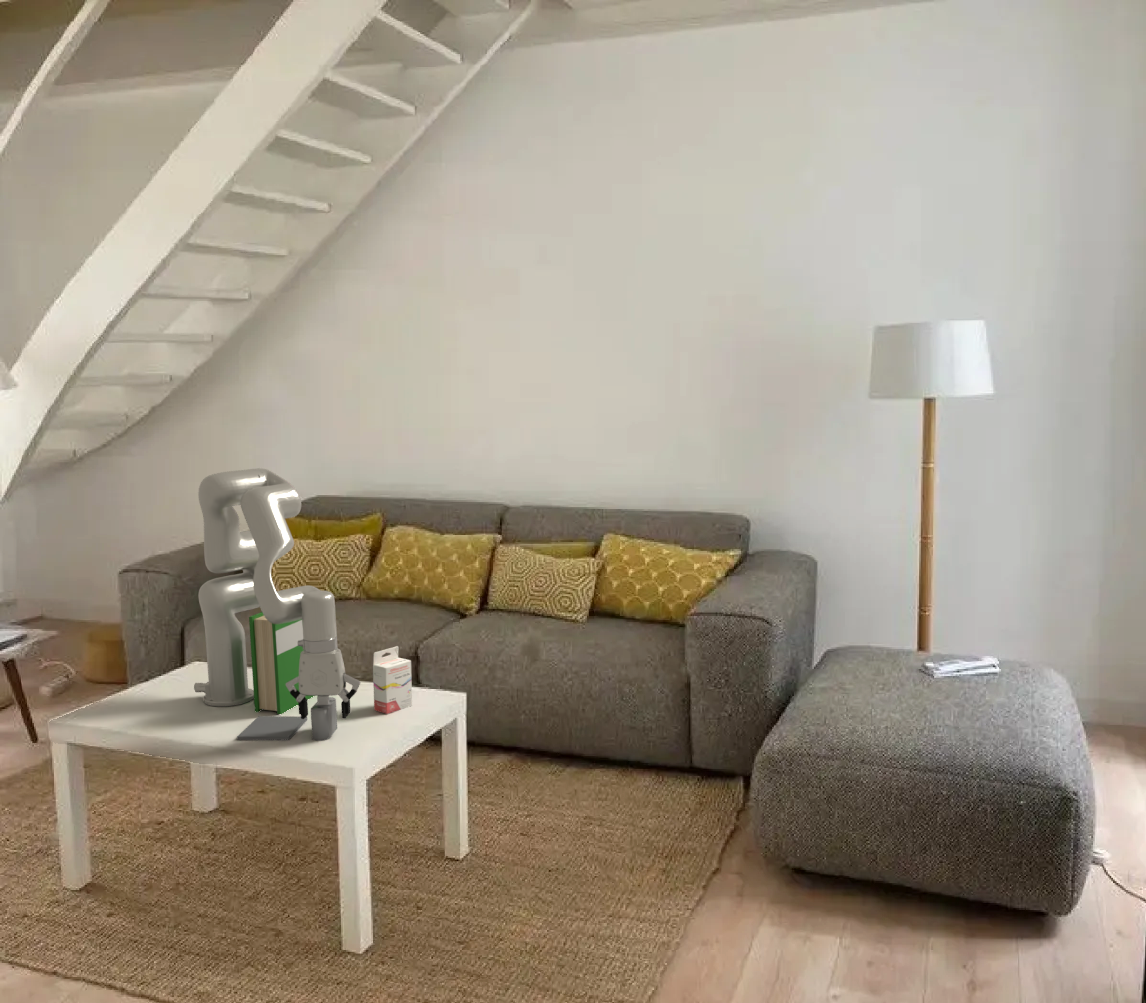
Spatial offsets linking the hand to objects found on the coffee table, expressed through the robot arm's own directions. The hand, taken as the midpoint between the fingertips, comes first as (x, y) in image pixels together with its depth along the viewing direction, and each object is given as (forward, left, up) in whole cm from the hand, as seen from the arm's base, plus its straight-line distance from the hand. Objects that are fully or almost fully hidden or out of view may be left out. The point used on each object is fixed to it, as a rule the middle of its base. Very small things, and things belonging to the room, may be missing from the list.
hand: (325, 717), depth 265 cm
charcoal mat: (-13, +2, -4) cm, 14 cm away
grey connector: (0, 0, -4) cm, 4 cm away
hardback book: (-16, +22, -4) cm, 28 cm away
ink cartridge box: (+12, +18, -4) cm, 22 cm away
